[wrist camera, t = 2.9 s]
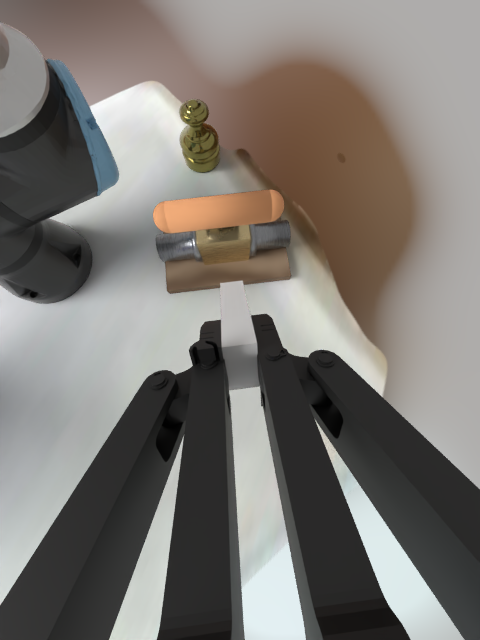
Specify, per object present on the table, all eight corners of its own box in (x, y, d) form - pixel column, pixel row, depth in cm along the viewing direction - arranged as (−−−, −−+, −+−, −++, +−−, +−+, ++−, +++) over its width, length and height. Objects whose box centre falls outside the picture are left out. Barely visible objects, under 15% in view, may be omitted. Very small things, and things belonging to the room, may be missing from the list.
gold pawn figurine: (178, 153, 47) (162, 96, 37) (210, 138, 48) (202, 79, 38) (194, 179, 46) (182, 128, 36) (226, 164, 46) (223, 110, 36)
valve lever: (259, 222, 34) (287, 221, 19) (184, 231, 34) (154, 237, 19) (258, 201, 33) (287, 184, 18) (180, 210, 33) (145, 200, 18)
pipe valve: (289, 279, 41) (301, 257, 33) (169, 293, 41) (151, 275, 32) (277, 212, 44) (285, 176, 36) (165, 225, 43) (147, 192, 35)
